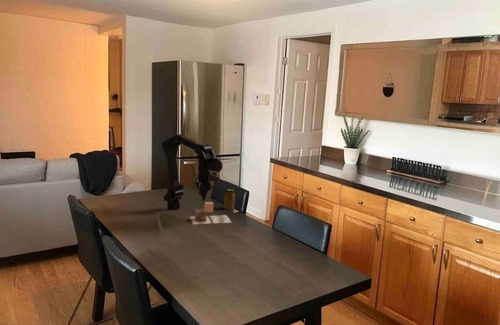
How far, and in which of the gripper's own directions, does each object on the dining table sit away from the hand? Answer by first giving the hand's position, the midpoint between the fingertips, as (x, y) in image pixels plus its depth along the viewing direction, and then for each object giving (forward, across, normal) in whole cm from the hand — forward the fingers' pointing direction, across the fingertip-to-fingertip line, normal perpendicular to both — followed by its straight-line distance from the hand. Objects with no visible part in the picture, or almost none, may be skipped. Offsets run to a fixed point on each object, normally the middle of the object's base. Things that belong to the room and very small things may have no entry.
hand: (202, 198), depth 205 cm
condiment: (+12, +15, -19) cm, 27 cm away
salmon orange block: (+12, +11, -6) cm, 17 cm away
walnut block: (+11, -4, +1) cm, 11 cm away
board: (+12, -3, -4) cm, 13 cm away
